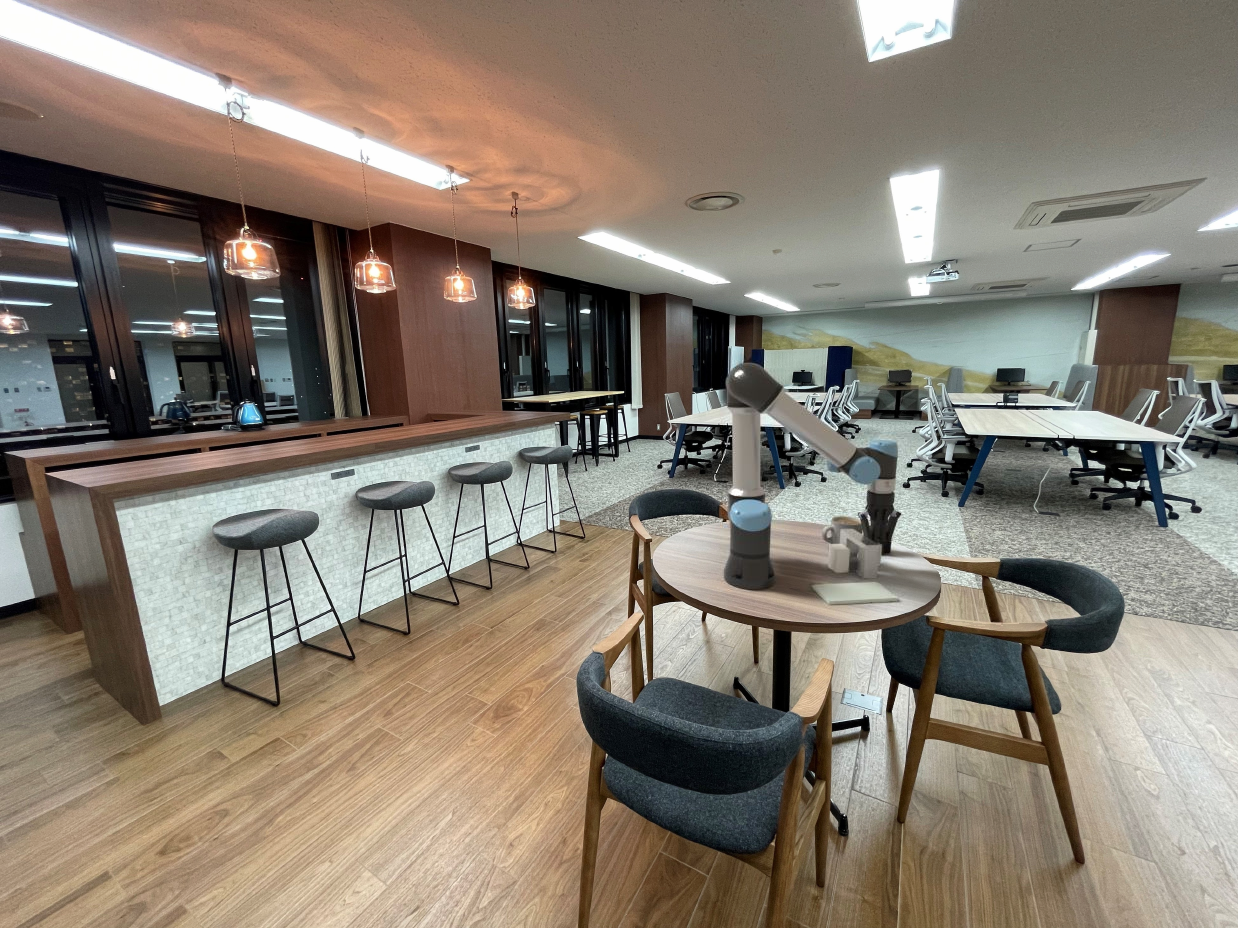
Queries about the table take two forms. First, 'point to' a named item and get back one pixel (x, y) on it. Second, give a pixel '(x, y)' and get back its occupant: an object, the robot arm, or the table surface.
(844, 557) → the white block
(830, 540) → the coffee mug
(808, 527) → the table surface
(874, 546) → the grey arch block
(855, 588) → the mat
